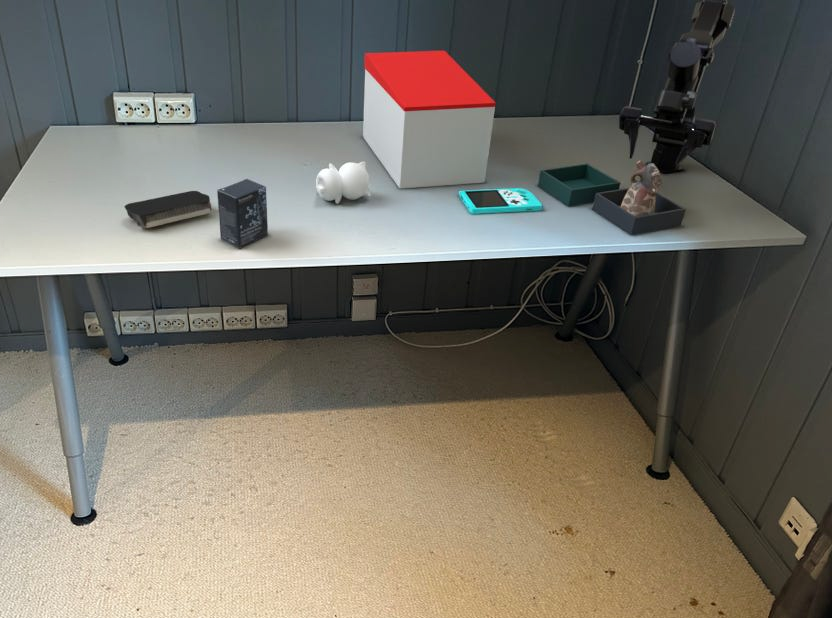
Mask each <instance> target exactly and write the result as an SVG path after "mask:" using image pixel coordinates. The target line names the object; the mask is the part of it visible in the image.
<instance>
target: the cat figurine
mask: <svg viewBox="0 0 832 618" xmlns="http://www.w3.org/2000/svg"><path fill="white" fill-rule="evenodd" d="M328 167H329V168H328ZM328 167H327V168H323V169H321V170H320V171H319V172H318V174H317V175H316V179H315V189H316V190H317V194H318V195H319V196H320V197H321V198H322V199H323V200H325V201H328V202H329V201H334V202H335V204H336V205H338V204H339V203H340V202H341V200H342V196H343V197H344V198H345V199H347V200H351V201H353V200H358V199H360V198H362V197H368V198H369V197H371V196H372V193H371V190H370V176H369V173H368V171H367V168H366V161H364V160H363V161H361V162H359V163H357V162H352V161H351V162H346V163H344V164H342V166H341V167H339V170H338V169H337V168H336V166H334V164H333V163H328Z"/></svg>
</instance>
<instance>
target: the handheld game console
mask: <svg viewBox="0 0 832 618" xmlns="http://www.w3.org/2000/svg"><path fill="white" fill-rule="evenodd" d="M458 197H459V198H460V199H461V201H462V203H463V204H464V206H465V207H466V209H467V210H468V211H469V213H470V214H472V215H476V214H478V215H481V214H497V213H517V212H536V211H537V212H538V211H542V209H543V204H542V203H541V202H540V201H539V199H538V198H537V197H536V196H535V195H534V194H533V193H532V192H531V191H529V190H528V189H526V188H521V187H509V188H489V189H468V190H459V193H458Z"/></svg>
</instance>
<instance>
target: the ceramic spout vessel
mask: <svg viewBox="0 0 832 618" xmlns="http://www.w3.org/2000/svg"><path fill="white" fill-rule="evenodd" d="M635 165H636V167H637V170H635V172H634V173H633V174H632V175H631V177H630V186H629V187H628V188H629V190H628V191H627V193H626V195H625V197H624V199H623V202H622V204H621V206H620V207H621V208H623V209H624V210H626V211H627V212H629V213H631V214H632V215H634V216H635V217H637V216H643V215H649V214H655V213H656V212H655V202H656V192H657V193H658V190H659V189H660V186H661V185H662V184H663V182H662V180H661V178H660V176H661V172H660V171H659V170H658V169H657V167H656V166H655V165H654V164H653V163H650V164H648V165H647V164H646V165H644V163H643V162H642V160H639V161H637V162H636V163H635ZM636 177H639V178H640V180H636Z"/></svg>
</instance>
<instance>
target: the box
mask: <svg viewBox="0 0 832 618" xmlns="http://www.w3.org/2000/svg"><path fill="white" fill-rule="evenodd" d="M216 193H217V195H216V196H217V206H218V220H219V221H218V222H219V234H220V240H221V241H223V242H225V243H226V244H229V245H231V246H233V247H235V248H237V249H242V248H243V247H244V246H248V245H249V244H252V243H254V242H256V241H258V240H261V239H262V238H265V237H268V236H269V226H268V205H267V204H268V201H267V186H265V185H263V184H260V183H258V182H256V181H254V180H252V179H248V178H245V179H243V180H241V181H238V182H235V183H233V184H230V185H228V186H225V187H221V188H218V189H217V191H216Z"/></svg>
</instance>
